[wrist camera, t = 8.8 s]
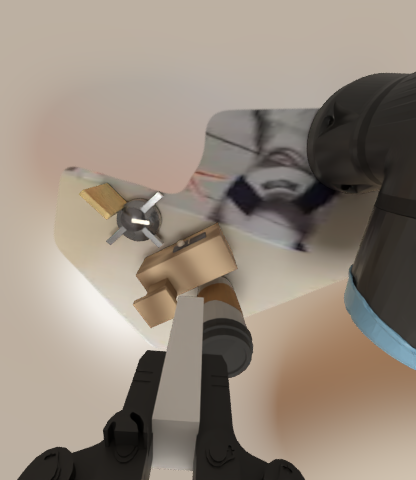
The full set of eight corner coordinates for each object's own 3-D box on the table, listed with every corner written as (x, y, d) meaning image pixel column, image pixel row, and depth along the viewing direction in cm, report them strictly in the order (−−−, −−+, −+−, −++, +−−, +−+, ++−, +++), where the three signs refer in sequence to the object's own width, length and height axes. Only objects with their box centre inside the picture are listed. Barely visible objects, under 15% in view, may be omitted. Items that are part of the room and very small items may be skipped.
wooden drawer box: (214, 217, 36) (219, 240, 26) (232, 253, 38) (243, 287, 28) (141, 252, 38) (119, 287, 28) (163, 285, 40) (150, 328, 30)
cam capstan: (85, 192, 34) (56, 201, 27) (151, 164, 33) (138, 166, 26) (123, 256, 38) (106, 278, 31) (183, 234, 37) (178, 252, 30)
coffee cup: (184, 294, 41) (174, 365, 27) (210, 261, 39) (214, 319, 25) (220, 314, 43) (228, 390, 29) (246, 284, 41) (270, 350, 27)
